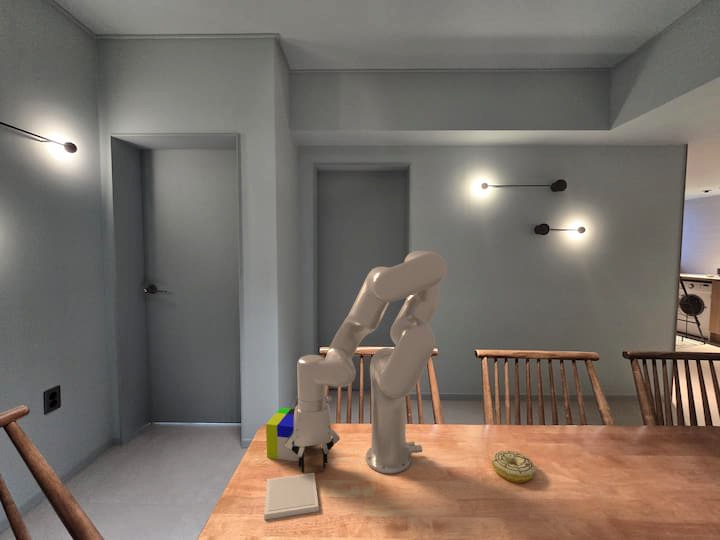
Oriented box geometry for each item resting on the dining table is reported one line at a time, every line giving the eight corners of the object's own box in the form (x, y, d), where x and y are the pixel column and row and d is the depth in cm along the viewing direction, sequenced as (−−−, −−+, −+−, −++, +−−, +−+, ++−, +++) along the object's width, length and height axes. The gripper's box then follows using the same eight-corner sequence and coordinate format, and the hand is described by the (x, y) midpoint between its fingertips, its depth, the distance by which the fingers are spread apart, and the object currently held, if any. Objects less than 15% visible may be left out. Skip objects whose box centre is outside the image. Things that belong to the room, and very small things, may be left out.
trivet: (314, 477, 93) (314, 472, 93) (318, 511, 81) (318, 505, 81) (267, 483, 91) (266, 478, 91) (264, 519, 79) (264, 514, 79)
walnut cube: (321, 461, 100) (321, 444, 100) (323, 472, 95) (323, 454, 95) (303, 463, 99) (303, 446, 98) (304, 474, 94) (304, 456, 94)
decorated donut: (541, 473, 95) (542, 460, 94) (524, 492, 88) (524, 477, 87) (504, 455, 102) (504, 443, 102) (484, 471, 95) (485, 458, 95)
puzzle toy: (300, 461, 100) (299, 427, 99) (267, 457, 102) (266, 424, 101) (311, 442, 109) (311, 410, 109) (281, 438, 111) (280, 407, 111)
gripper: (341, 393, 101) (341, 454, 102) (279, 399, 97) (281, 462, 99) (345, 405, 93) (346, 471, 95) (279, 412, 90) (280, 480, 92)
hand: (313, 465), depth 97 cm, fingers closed on walnut cube, 5 cm apart
